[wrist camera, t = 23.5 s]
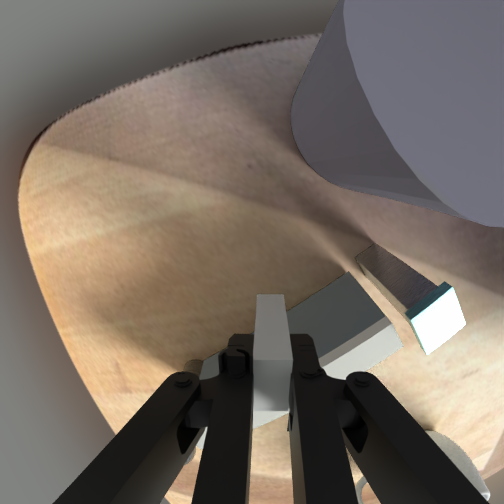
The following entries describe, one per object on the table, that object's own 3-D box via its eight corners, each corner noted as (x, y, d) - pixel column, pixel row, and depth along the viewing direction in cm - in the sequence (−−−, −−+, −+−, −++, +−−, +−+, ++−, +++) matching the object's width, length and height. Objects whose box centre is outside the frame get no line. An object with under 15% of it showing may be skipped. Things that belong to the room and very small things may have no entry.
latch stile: (376, 237, 22) (452, 286, 12) (391, 263, 23) (465, 324, 12) (349, 256, 23) (410, 320, 12) (365, 282, 23) (427, 355, 13)
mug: (338, 483, 31) (354, 562, 18) (349, 435, 28) (376, 532, 15) (436, 459, 30) (466, 523, 17) (460, 407, 27) (507, 478, 15)
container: (361, 39, 19) (455, -70, 4) (439, 142, 20) (588, 136, 6) (260, 109, 20) (260, 1, 6) (349, 218, 22) (473, 293, 8)
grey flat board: (216, 373, 25) (200, 449, 17) (203, 359, 25) (181, 434, 16) (358, 287, 23) (403, 346, 14) (347, 269, 23) (392, 323, 14)
